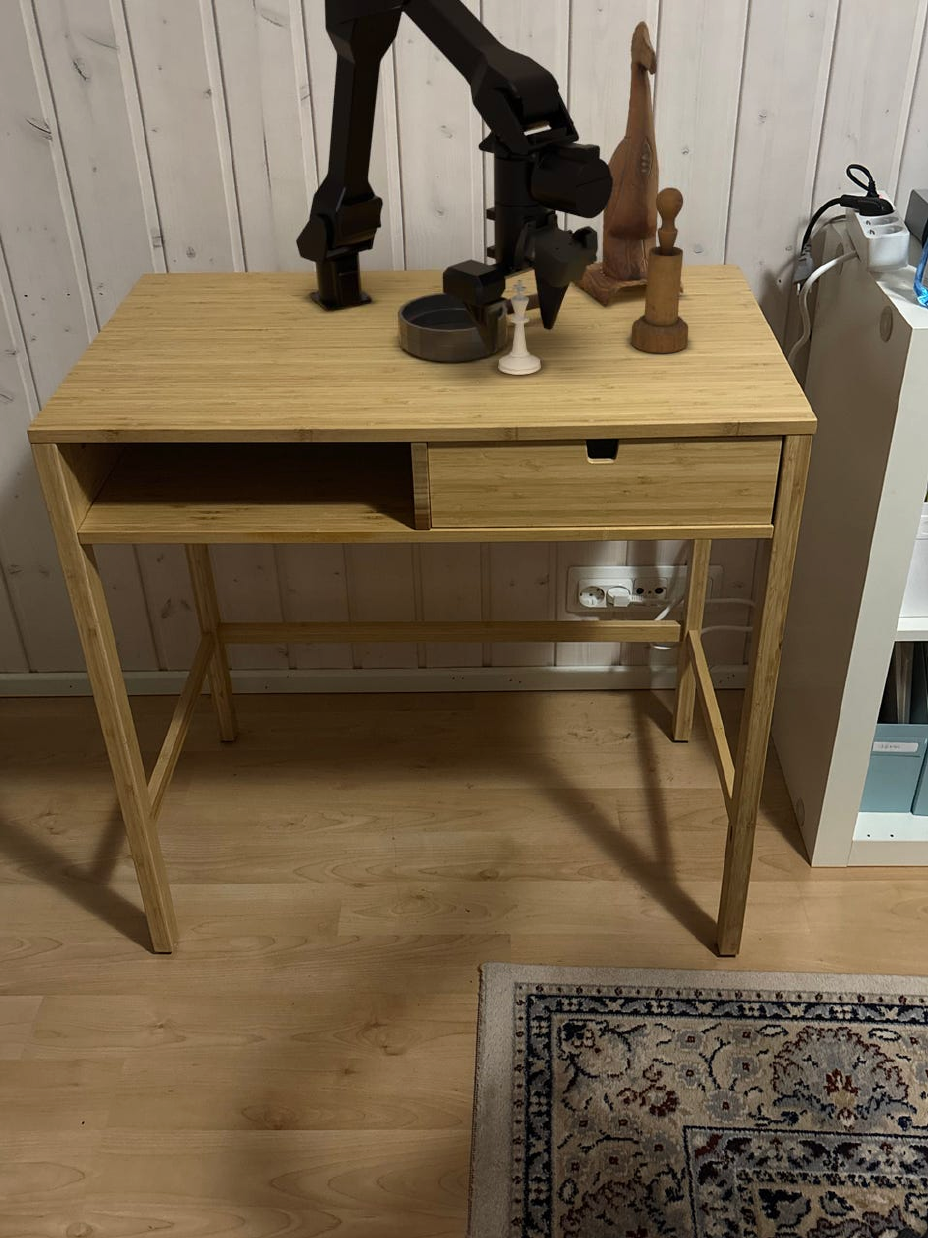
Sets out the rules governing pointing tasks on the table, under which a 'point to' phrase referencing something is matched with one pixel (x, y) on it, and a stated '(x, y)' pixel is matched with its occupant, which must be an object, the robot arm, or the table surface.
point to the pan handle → (531, 305)
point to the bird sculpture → (630, 187)
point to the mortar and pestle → (663, 285)
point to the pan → (444, 329)
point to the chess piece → (519, 339)
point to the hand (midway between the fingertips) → (520, 339)
